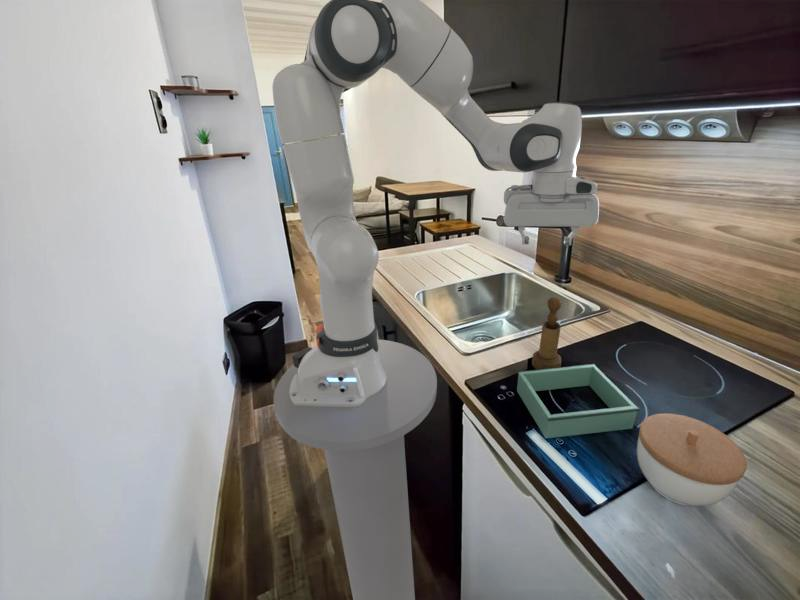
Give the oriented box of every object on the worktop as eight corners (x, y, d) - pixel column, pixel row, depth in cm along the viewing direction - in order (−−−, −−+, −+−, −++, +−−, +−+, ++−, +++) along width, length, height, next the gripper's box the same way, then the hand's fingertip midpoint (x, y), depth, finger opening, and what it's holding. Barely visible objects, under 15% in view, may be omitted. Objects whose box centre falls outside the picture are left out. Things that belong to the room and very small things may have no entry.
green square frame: (545, 439, 67) (548, 418, 65) (515, 390, 80) (517, 371, 78) (633, 429, 68) (639, 408, 66) (590, 382, 81) (594, 363, 79)
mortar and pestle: (553, 376, 84) (564, 306, 77) (527, 366, 88) (534, 299, 81) (564, 363, 88) (575, 296, 81) (538, 354, 92) (546, 289, 85)
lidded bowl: (642, 441, 66) (657, 392, 61) (733, 484, 57) (758, 431, 52) (616, 485, 58) (631, 433, 54) (716, 542, 50) (744, 486, 45)
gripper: (504, 187, 81) (500, 247, 87) (606, 185, 76) (594, 249, 82) (504, 183, 87) (501, 240, 92) (599, 181, 81) (589, 241, 87)
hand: (545, 244), depth 87 cm, fingers open, 8 cm apart
